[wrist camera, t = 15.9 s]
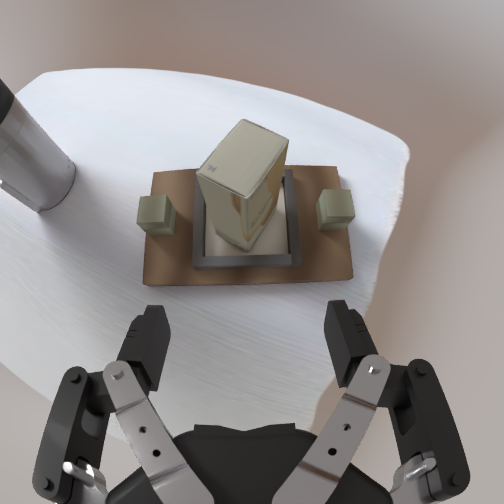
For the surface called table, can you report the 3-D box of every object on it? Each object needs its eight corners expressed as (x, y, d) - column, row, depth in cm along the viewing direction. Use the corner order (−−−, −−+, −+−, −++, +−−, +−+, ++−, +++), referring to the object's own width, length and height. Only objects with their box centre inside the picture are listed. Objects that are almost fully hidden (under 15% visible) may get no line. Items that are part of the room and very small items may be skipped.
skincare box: (248, 254, 29) (245, 204, 17) (214, 234, 30) (191, 175, 18) (278, 206, 30) (292, 137, 19) (245, 188, 31) (241, 115, 19)
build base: (147, 285, 30) (127, 277, 25) (157, 178, 34) (143, 155, 28) (348, 279, 30) (367, 270, 25) (333, 172, 34) (345, 148, 28)
